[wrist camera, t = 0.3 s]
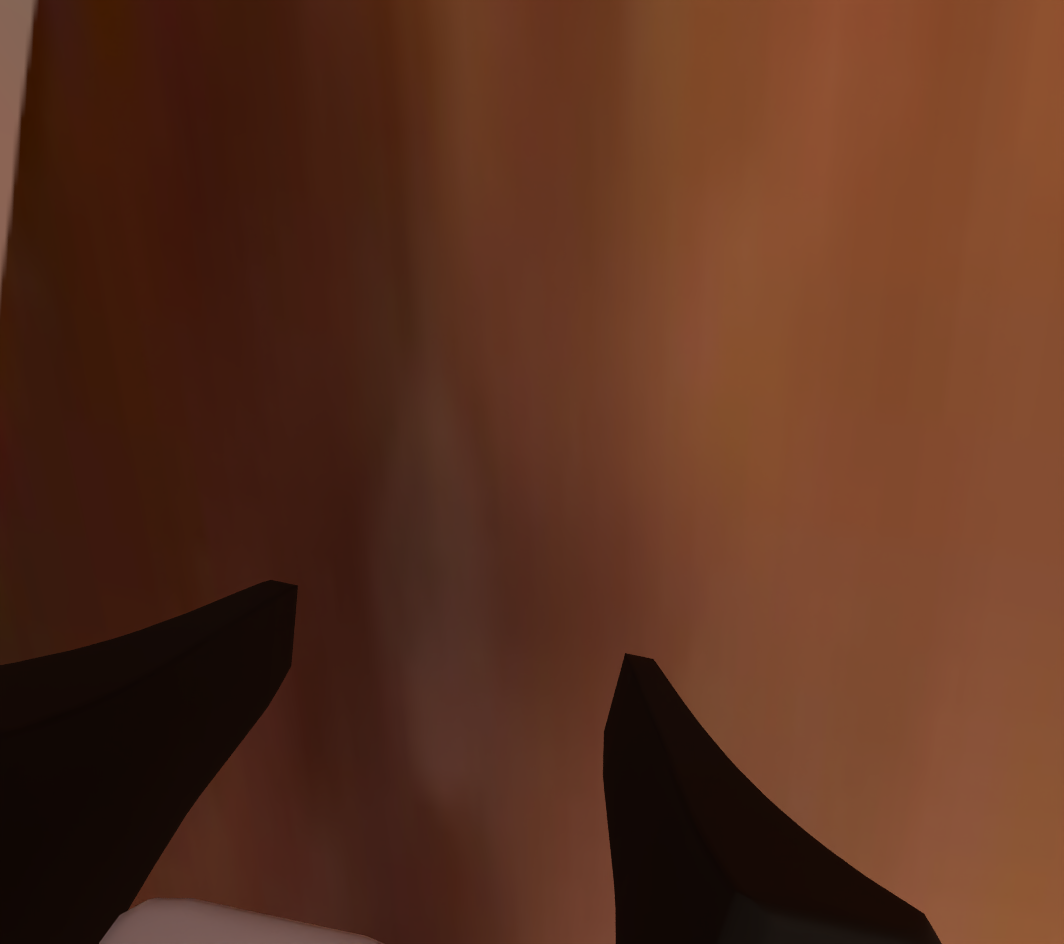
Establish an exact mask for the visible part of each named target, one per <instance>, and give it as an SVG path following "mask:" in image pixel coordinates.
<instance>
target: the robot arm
mask: <svg viewBox="0 0 1064 944" xmlns="http://www.w3.org/2000/svg"><path fill="white" fill-rule="evenodd" d="M297 590H298V585H293V584H288V583H283V582H278V581H273V580H269V581H266V582H262V583H260V584H257V585H254V586H252V587H249V588H247V589H244V590H242V591H240V592H237V593H235V594H232V595H230V596H227V597H225V598H223V599H220V600H218V601H215V602H213V603H210V604H208V605H206V606H203V607H201V608H198V609H196V610H193V611H191V612H188V613H186V614H183V615H180V616H178V617H175V618H172V619H169V620H167V621H164V622H161V623H159V624H156V625H153V626H150V627H148V628H145V629H142V630H139V631H136V632H133V633H130V634H127V635H124V636H121V637H118V638H114V639H111V640H108V641H104V642H100V643H97V644H93V645H90V646H86V647H83V648H79V649H75V650H71V651H66V652H62V653H57V654H53V655H48V656H43V657H39V658H34V659H30V660H25V661H20V662H16V663H11V664H5V665H0V944H384V943H382V942H379V941H377V940H375V939H372V938H370V937H368V936H365V935H360V934H356V933H351V932H347V931H342V930H337V929H333V928H328V927H323V926H319V925H314V924H309V923H305V922H300V921H295V920H291V919H286V918H282V917H277V916H272V915H268V914H263V913H258V912H254V911H249V910H244V909H240V908H235V907H230V906H226V905H221V904H217V903H212V902H207V901H203V900H198V899H193V898H155V899H149V900H147V901H145V902H143V903H141V904H139V905H137V906H136V907H134V908H132V909H130V910H128V909H129V907H130V906H131V904H132V902H133V901H134V899H135V897H136V896H137V894H138V892H139V891H140V889H141V887H142V886H143V884H144V882H145V880H146V879H147V877H148V875H149V874H150V872H151V870H152V869H153V867H154V865H155V864H156V862H157V861H158V859H159V857H160V856H161V854H162V853H163V851H164V849H165V848H166V846H167V845H168V843H169V841H170V840H171V838H172V837H173V835H174V833H175V832H176V830H177V829H178V827H179V825H180V824H181V822H182V821H183V819H184V817H185V816H186V814H187V813H188V812H189V810H190V809H191V807H192V806H193V805H194V803H195V802H196V800H197V799H198V797H199V796H200V795H201V793H202V792H203V791H204V789H205V788H206V787H207V786H208V784H209V783H210V782H211V780H212V779H213V778H214V776H215V775H216V774H217V773H218V771H219V770H220V769H221V767H222V766H223V765H224V763H225V762H226V761H227V760H228V758H229V757H230V756H231V754H232V753H233V752H234V751H235V749H236V748H237V747H238V745H239V744H240V743H241V741H242V740H243V739H244V738H245V736H246V735H247V734H248V732H249V731H250V730H251V728H252V727H253V726H254V724H255V723H256V722H257V720H258V719H259V718H260V716H261V715H262V714H263V712H264V711H265V710H266V708H267V707H268V706H269V704H270V702H271V701H272V699H273V697H274V696H275V694H276V692H277V690H278V689H279V687H280V685H281V683H282V682H283V680H284V678H285V676H286V674H287V673H288V671H289V669H290V667H291V662H292V650H293V638H294V626H295V614H296V602H297ZM603 780H604V791H605V801H606V811H607V821H608V830H609V840H610V849H611V859H612V868H613V878H614V891H615V907H616V944H942V943H941V942H940V940H939V938H938V936H937V935H936V933H935V931H934V929H933V928H932V926H931V924H930V923H929V921H928V919H927V918H926V916H925V914H924V913H922V912H921V911H919V910H917V909H916V908H914V907H913V906H911V905H910V904H908V903H907V902H905V901H903V900H902V899H900V898H899V897H897V896H896V895H894V894H893V893H891V892H889V891H888V890H886V889H885V888H883V887H882V886H880V885H879V884H877V883H875V882H874V881H872V880H871V879H869V878H868V877H866V876H865V875H863V874H862V873H860V872H859V871H857V870H856V869H855V868H853V867H852V866H851V865H849V864H848V863H847V862H845V861H844V860H842V859H841V858H840V857H838V856H837V855H836V854H834V853H833V852H832V851H830V850H829V849H827V848H826V847H825V846H824V845H822V844H821V843H820V842H819V841H817V840H816V839H815V838H813V837H812V836H811V835H810V834H808V833H807V832H806V831H805V830H803V829H802V828H801V827H800V826H799V825H798V824H797V823H795V822H794V821H793V820H792V819H791V818H790V817H788V816H787V815H786V814H785V813H784V812H783V811H781V810H780V809H779V808H778V807H777V806H776V805H775V804H774V803H772V802H771V801H770V800H769V799H768V798H767V797H766V796H765V795H764V794H763V793H762V792H761V791H760V790H759V789H758V788H757V787H756V786H755V785H754V784H753V783H752V782H751V781H750V780H749V779H748V778H747V777H746V776H745V775H744V774H743V773H742V772H741V771H740V770H739V769H738V768H737V767H736V766H735V765H734V764H733V763H732V761H731V760H730V759H729V758H728V757H727V756H726V755H725V753H724V752H723V751H722V750H721V749H720V748H719V746H718V745H717V744H716V743H715V742H714V741H713V739H712V738H711V737H710V736H709V735H708V733H707V732H706V731H705V730H704V728H703V727H702V726H701V725H700V723H699V722H698V721H697V719H696V718H695V717H694V715H693V714H692V713H691V711H690V710H689V709H688V707H687V706H686V705H685V703H684V702H683V700H682V699H681V698H680V696H679V695H678V693H677V692H676V691H675V689H674V688H673V686H672V685H671V683H670V682H669V681H668V679H667V678H666V676H665V675H664V673H663V672H662V670H661V669H660V668H659V666H658V665H657V663H656V662H655V661H654V659H650V658H646V657H641V656H636V655H631V654H626V653H625V656H624V660H623V664H622V667H621V671H620V675H619V678H618V682H617V686H616V689H615V693H614V697H613V700H612V704H611V708H610V712H609V715H608V719H607V723H606V726H605V730H604V752H603Z"/></svg>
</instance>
